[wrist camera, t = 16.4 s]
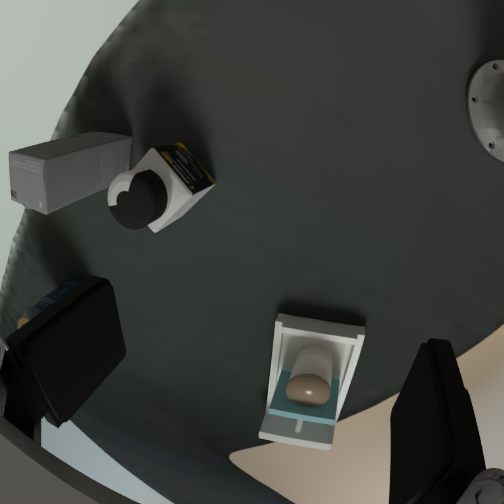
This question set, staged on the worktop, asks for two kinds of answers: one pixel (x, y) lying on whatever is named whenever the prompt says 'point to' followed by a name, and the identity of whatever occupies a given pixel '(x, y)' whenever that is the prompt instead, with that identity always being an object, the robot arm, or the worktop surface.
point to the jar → (311, 376)
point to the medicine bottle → (158, 188)
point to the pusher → (291, 410)
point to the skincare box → (67, 169)
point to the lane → (283, 356)
